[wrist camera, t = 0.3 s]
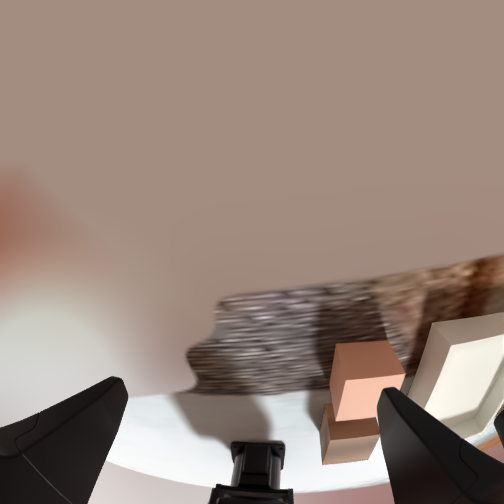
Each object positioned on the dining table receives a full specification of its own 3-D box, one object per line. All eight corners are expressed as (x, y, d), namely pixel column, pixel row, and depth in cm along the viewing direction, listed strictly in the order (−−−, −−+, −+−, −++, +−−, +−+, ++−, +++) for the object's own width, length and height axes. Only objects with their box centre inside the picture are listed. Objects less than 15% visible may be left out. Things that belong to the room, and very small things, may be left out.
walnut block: (360, 427, 26) (367, 459, 22) (319, 431, 27) (322, 464, 22) (370, 400, 25) (380, 434, 20) (325, 403, 25) (330, 440, 21)
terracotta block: (376, 379, 24) (389, 414, 19) (329, 383, 25) (335, 421, 20) (387, 339, 23) (405, 373, 18) (335, 343, 23) (345, 380, 18)
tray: (473, 415, 25) (483, 433, 22) (387, 439, 27) (393, 462, 23) (522, 308, 20) (541, 323, 16) (432, 322, 22) (451, 345, 18)
